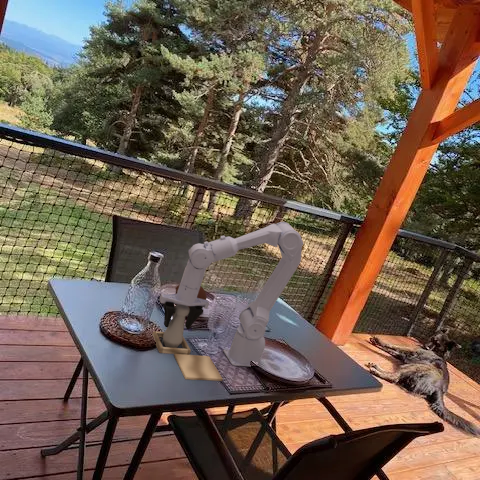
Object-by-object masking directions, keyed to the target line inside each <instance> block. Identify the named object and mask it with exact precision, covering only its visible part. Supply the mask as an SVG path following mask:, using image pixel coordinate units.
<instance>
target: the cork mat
mask: <svg viewBox="0 0 480 480" xmlns="http://www.w3.org/2000/svg"><path fill="white" fill-rule="evenodd" d="M173 357H174V359H175V361H176V363H177V365H178V367H179V369H180V372H181V373H182V375H183V377H184V380H191V381H192V380H193V381H195V380H196V381H218V382H219V381H220V382H223V380H224V378H223V377H222V375H221V373H220V371H219V370H218V369H217V367H216V365H215V364H214V362H213V359H211V357H210V356H209V355H197V354H194V355H193V354H190V355H184V354H173Z"/></svg>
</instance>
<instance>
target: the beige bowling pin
mask: <svg viewBox="0 0 480 480" xmlns="http://www.w3.org/2000/svg"><path fill="white" fill-rule="evenodd" d="M174 308H175V311H174V313H173V315H172V317H171V320H170V323H169V326H168V327H166V329H165V331H164V332H165V333H164V334H163V338H162V340H163V341H162V342H163V345H164V347H170V348H179V346H180V345H181V342H182V340H183V337H184V330H185V323H186V317H188V314H189V311H190V309H189V307H188V306H186V305H181V304H177V305H176V306H175V307H174Z"/></svg>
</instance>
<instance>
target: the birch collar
mask: <svg viewBox="0 0 480 480" xmlns="http://www.w3.org/2000/svg"><path fill="white" fill-rule="evenodd" d="M164 333H165V331H157V330H155V331H154V330H153V331H152V334H151V336H152V335H153V337H154V339H155V342H156V344H155V346H156V348H157V351H158V353H160V354H168V355H169V354H170V355H172V354H173V355H174V354H184V355H191V351H192V350H191V348H190V346H189V345H188V342H187V341H186V339H185V337H184V336H183V340H182V342H181V344H180V345H181V347H182V348H181V347H180V348H179V347H177V348H170V347H165V346H163V344H162V342H161V339H163V334H164ZM153 337H152V338H153ZM159 337H162V338H159ZM154 339H153V340H154ZM155 342H154V343H155Z"/></svg>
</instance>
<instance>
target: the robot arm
mask: <svg viewBox="0 0 480 480" xmlns="http://www.w3.org/2000/svg"><path fill="white" fill-rule="evenodd" d="M264 244H267V245H270V246H272V247H275V248H278V249H279V251H280V252H279V253H280V255H281V258H280V259H279V260H278V263H277V264H276V266H275V268H274V270H273V271H272V273H271V274H270V277H268V279H267V280H266V282H265V284H264V286H263V287H262V289H261V291H260V292H259V293H258V295H257V297H256V298H255V300H254V301H251V302H249V304H248V305H247V307H245V308H243V310H241V312H240V313H239V316H238V320H239V323H240V324H239V325H238V326H237V328H236V332H235V334H234V337H233V339H232V342H231V345H230V348H229V349H223V351H222V352H223V353H224V355H225V356H226V358H227V359H228V361H229V362H230V364H231V365H232V366H234V367H235V366H236V367H238V366H239V367H251V365H250V361H255V362H258V363H260V361H261V358H262V356H263V353H264V351H265V347H266V339H265V336H264V335H265V333H266V329H267V325H268V323H269V321H270V312H271V310H272V308H274V305H275V303H276V302H277V300H278V299H279V298H280V295H281V294H282V293H283V291H284V289H285V288H286V286H288V285H287V284H288V283H289V281H290V280H291V278H292V276H293V275H294V273H296V271H297V269H298V267H299V266H300V264H301V262H302V251H303V245H304V242H303V239H302V236H301V234H300V233H299V232H298V231H297V230H295V229H294V228H293V227H292V225H291V224H289V223H288V222H286V221H280V222H277V223H272V224H269V225H267V226H265V227H263V228H262V227H261V229H257V230H255V231H252V232H249V233H246V234H244V235H241V236H239V237H236V238H234V237H232V236H225V235H221V236H220V238H219V239H218V238H217V239H215V240H212V241H209V242H208V240H207V241H204V242H203V243H195V244H192V246H191V247H190V248H189V249H188V257H189V258H188V260H187V263H186V266H185V268H184V271H183V274H182V278H181V280H180V283H179V284H180V286H179V289H178V292H177V294H175V293H167V294H166V293H160V296H159V302H160V303H161V304H163V310H164V311H163V312H164V319H163V324H164V325H163V326H164V327H165V328H167V327H168V326H169V323H170V322H171V320H172V318H173V316H174V314H175V307H174V304H181V305H186V306H190V311H189V314H188V315H187V316H186V318H187V319H185V323H184V328H186V330H190V329H191V327H192V326H193V325H194V323H195V321H197V319H198V318H199V317H200V316H202V315H203V314H204V309H208V308H209V305H210V302H209V300H207V299H206V300H204V299H200V298H197V295H198V292H199V289H200V286H201V287H202V282H203V280H204V277H205V274H206V273H205V272H206V270H207V268H209V267H210V266H211V265H212V263H215V262H219V261H221V260H224V259H225V260H226V259H228V258H231V257H235V256H236V254H237V252H238V251H239V250H243V249H247V248H250V247H251V248H252V247H255V246H258V245H264Z"/></svg>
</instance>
